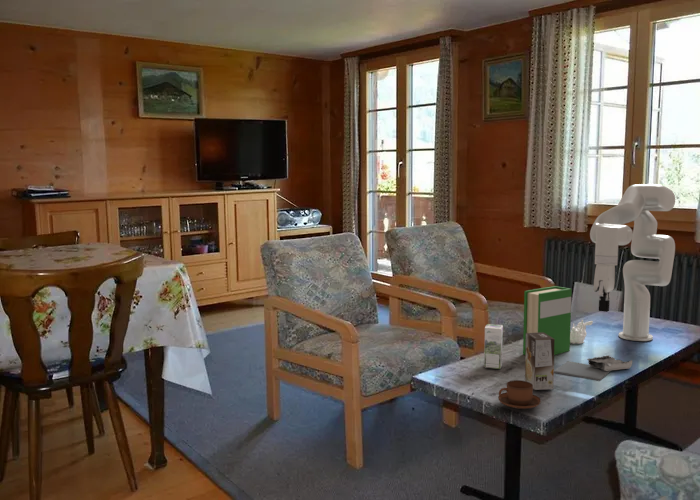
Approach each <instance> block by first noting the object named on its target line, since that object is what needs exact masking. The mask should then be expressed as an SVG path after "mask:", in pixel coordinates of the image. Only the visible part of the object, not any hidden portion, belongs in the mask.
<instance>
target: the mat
mask: <svg viewBox="0 0 700 500" xmlns="http://www.w3.org/2000/svg"><path fill="white" fill-rule="evenodd" d="M612 371H613V370H610V371H604V370H601V369H598V368H593V367H591V366H590V365H589V363H588V364H587V363H582V362H581V363H580V362H574V361H569V360H568V361H565V362H564V363H563V364H562V365H560V366H559V367H557V368H556V369H554V374H555V373H556V374H560V375H565V376H571V377H576V378H582V379H588V380H592V381H602V380H603V379H604V378H605V377H606V376H607V375H609V374H610V373H611V372H612Z"/></svg>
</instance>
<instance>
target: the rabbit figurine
mask: <svg viewBox="0 0 700 500" xmlns="http://www.w3.org/2000/svg"><path fill="white" fill-rule="evenodd" d="M593 322H594V321H593V320H590V321H585V322H584V319H581V321H579V322H578V323H577V325H575V323H572V324H573V325H572V328H570V344H571V345H572V344H573V345H574V344H576V345H577V344H579V345H580V344H585V339H586V337H587V331H586V330H587V327H586V326H591V325H593Z"/></svg>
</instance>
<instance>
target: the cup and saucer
mask: <svg viewBox="0 0 700 500" xmlns="http://www.w3.org/2000/svg"><path fill="white" fill-rule="evenodd" d="M503 391H506V392H503ZM533 391H534V389H533V385H532V384H531V383H529V382H526V381H525V380H518V379H517V380H514V379H513V380H510V381H507V382H506V387H503V388H501V389H499V392H498V396H497V399H498V401H499V402H500V403H501V404H502V405H504V406H505V407H509V408H513V409H518V410H519V409H520V410H526V409H527V410H528V409H534V408H537V406H539V405H540V404H541V402H542V399H541V398H540V397H539V396H538V395H536V394H533Z"/></svg>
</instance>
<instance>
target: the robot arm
mask: <svg viewBox="0 0 700 500" xmlns="http://www.w3.org/2000/svg"><path fill="white" fill-rule="evenodd" d="M675 195H676V194H675V192H674V191H673V190H671V189H670V188H668V187H667V186H664V185H663V184H657V183H655V184H654V183H652V184H651V183H647V184H645V183H643V184H642V183H641V184H640V183H639V184H631V185H629V186H628V187H627V188H626V190H625V191H624V194H623V195H622V196H621V199H620V200H619V203H618V204H617V205H615V206H613V207H611V208H609V209H608V210H607V209H606V211H603V212H602V213H601V214H599V215H597V217H596V219H595V220H594V222H593V224H592V226H591V228H590V231H589V237H590V240H591V242H592V243H594V244H595V250H594V265H595V270H594V277H593V278H594V279H593V292H594V293H597V292H598V312H604V313H605V312H610V299H611V292H612V291H613V290H614V289H615V282H616V280H615V279H616V276H615V275H616V268H615V266H618V261H619V246H626V245H629V244H630V243H631V244H630V253H631V254H632V255H633V256H635V257H637V258H646V259H655V261H653V260H644V259H631V260H628V261H626V262H625V263H624V264H623V268H622V276H623V281H624V282H623V283H624V298H623V299H624V300H623V318H622V319H623V320H622V321H623V323H622V331H619V332H618V337H619V338H621V339H623V340H627V341H635V342H648V341H649V342H650V341H652V340H653V339H654V336H653V335H652V334H651V333H650V318H651V317H650V312H651V311H650V310H651V293H650V291H649V289H648V288H647V287H646V286H655V287H656V286H657V287H658V286H659V287H666V286H668V285H669V284H670V283H671V280H672V275H673V274H672V273H673V267H674V259H675V255H676V254H675V253H676V243H675V240H674V238H673V236H670V235H666V234H657V231H658V229H657V228H658V221H657V219H656V218H655V216H654V215H653V214H652V213H651V212H670V211H671V210H673V208H674V207H675V204H676V196H675ZM650 211H651V212H650ZM632 222H633V224H634V225H633V229H632V228H631V227H630V226H629V225H626V224H629V223H632ZM657 259H658V260H659V261H656V260H657Z"/></svg>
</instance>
